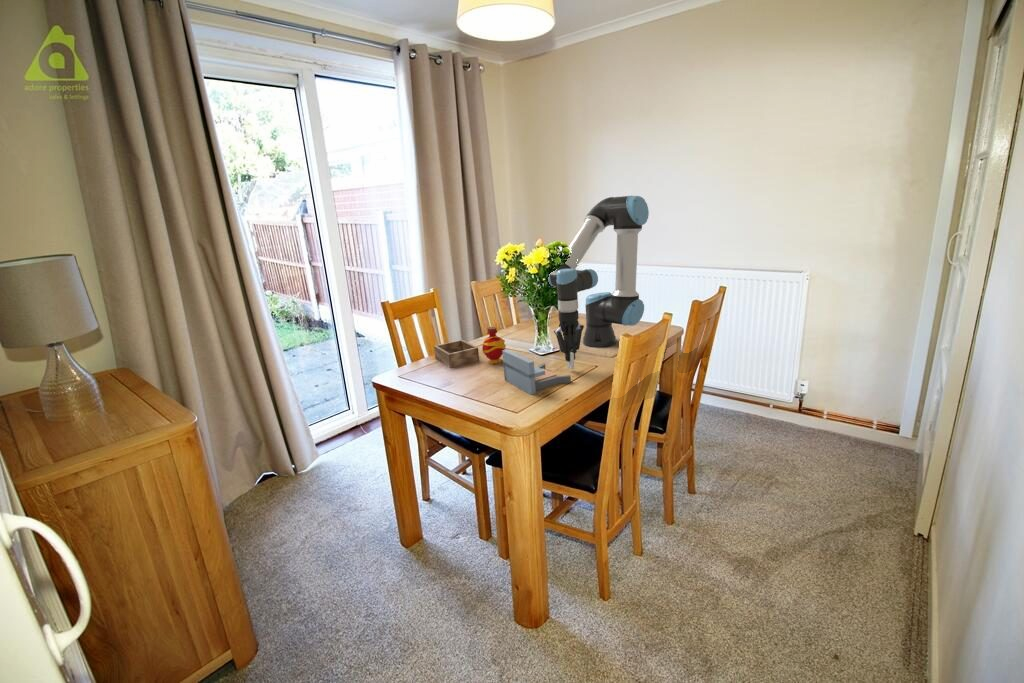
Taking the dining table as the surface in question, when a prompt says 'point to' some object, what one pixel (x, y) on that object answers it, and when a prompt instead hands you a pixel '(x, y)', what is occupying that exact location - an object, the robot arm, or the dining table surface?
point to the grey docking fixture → (527, 373)
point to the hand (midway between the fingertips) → (570, 368)
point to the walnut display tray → (456, 353)
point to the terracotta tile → (545, 376)
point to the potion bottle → (493, 346)
